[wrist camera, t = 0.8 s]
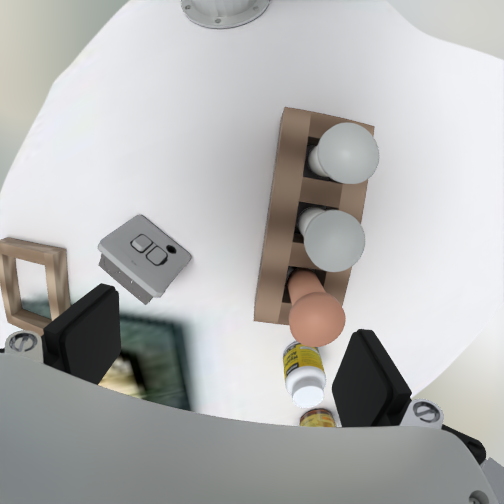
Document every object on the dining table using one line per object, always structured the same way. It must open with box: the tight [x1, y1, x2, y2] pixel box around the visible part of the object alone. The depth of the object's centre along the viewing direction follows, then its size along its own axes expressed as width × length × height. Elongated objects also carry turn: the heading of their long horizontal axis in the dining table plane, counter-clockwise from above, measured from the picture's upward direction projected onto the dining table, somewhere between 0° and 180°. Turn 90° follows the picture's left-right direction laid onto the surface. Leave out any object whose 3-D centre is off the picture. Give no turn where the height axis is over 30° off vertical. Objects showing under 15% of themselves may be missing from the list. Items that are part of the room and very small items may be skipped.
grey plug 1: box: [307, 122, 379, 184], centre depth 25 cm, size 5×5×10 cm
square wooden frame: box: [0, 238, 71, 337], centre depth 38 cm, size 16×16×4 cm
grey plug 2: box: [297, 207, 365, 272], centre depth 27 cm, size 5×5×10 cm
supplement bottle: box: [283, 342, 326, 408], centre depth 36 cm, size 5×5×10 cm
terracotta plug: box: [287, 268, 345, 347], centre depth 28 cm, size 5×5×10 cm
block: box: [254, 107, 374, 325], centre depth 33 cm, size 24×10×6 cm, turn 172°
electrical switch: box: [98, 215, 191, 305], centre depth 33 cm, size 9×5×9 cm, turn 51°
